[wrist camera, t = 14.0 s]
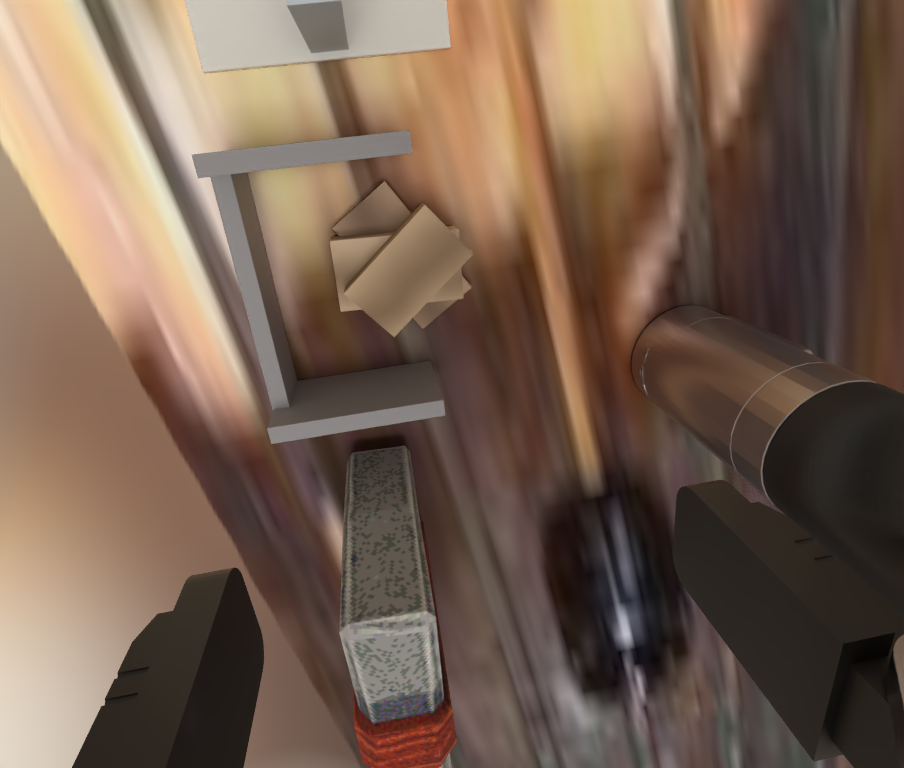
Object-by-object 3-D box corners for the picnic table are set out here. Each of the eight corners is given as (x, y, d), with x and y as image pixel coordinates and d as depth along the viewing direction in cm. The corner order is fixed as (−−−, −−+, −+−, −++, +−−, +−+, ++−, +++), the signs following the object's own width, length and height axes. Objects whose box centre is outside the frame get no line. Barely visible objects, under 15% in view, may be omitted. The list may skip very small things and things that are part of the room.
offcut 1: (383, 180, 40) (384, 180, 38) (467, 282, 44) (471, 287, 42) (333, 225, 41) (332, 228, 39) (420, 322, 44) (422, 329, 43)
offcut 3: (344, 287, 38) (343, 293, 37) (422, 201, 37) (424, 204, 35) (392, 328, 40) (394, 337, 38) (468, 248, 39) (473, 253, 37)
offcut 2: (331, 237, 39) (329, 241, 37) (454, 225, 40) (459, 229, 38) (341, 304, 41) (340, 311, 39) (459, 292, 42) (463, 298, 40)
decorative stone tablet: (324, 640, 28) (388, 889, 43) (446, 619, 29) (469, 872, 43) (337, 437, 45) (380, 664, 59) (414, 427, 46) (438, 654, 60)
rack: (400, 135, 38) (409, 130, 31) (432, 373, 45) (445, 415, 38) (224, 155, 37) (189, 155, 30) (285, 396, 44) (270, 444, 37)
